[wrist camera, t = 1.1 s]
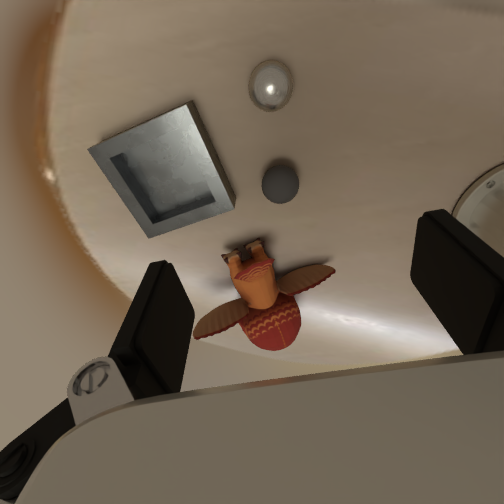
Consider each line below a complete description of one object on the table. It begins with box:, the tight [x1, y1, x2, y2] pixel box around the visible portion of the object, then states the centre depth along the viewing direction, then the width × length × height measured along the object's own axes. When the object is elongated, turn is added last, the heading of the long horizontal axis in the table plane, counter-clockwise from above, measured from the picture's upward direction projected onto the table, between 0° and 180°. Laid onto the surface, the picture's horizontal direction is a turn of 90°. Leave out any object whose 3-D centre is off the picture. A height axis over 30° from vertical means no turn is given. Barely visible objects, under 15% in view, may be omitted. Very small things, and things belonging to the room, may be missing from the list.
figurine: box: [193, 238, 335, 351], centre depth 38 cm, size 20×9×15 cm
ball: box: [262, 165, 299, 204], centre depth 31 cm, size 4×4×4 cm
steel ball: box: [248, 60, 293, 112], centre depth 26 cm, size 4×4×4 cm
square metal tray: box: [87, 100, 236, 238], centre depth 31 cm, size 11×11×3 cm
